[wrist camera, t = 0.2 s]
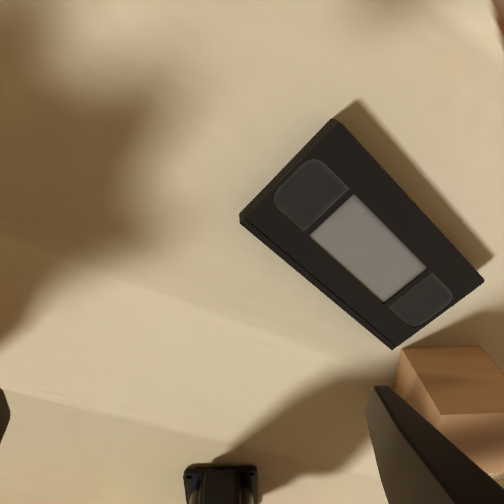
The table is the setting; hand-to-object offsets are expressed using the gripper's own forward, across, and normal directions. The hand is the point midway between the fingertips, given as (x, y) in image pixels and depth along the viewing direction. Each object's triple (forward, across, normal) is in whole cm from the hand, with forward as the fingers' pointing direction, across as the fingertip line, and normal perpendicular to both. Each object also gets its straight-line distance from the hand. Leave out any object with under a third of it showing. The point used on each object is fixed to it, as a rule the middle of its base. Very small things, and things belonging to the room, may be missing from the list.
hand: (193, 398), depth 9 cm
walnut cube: (+15, -17, +14) cm, 26 cm away
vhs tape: (+15, -9, +2) cm, 18 cm away
